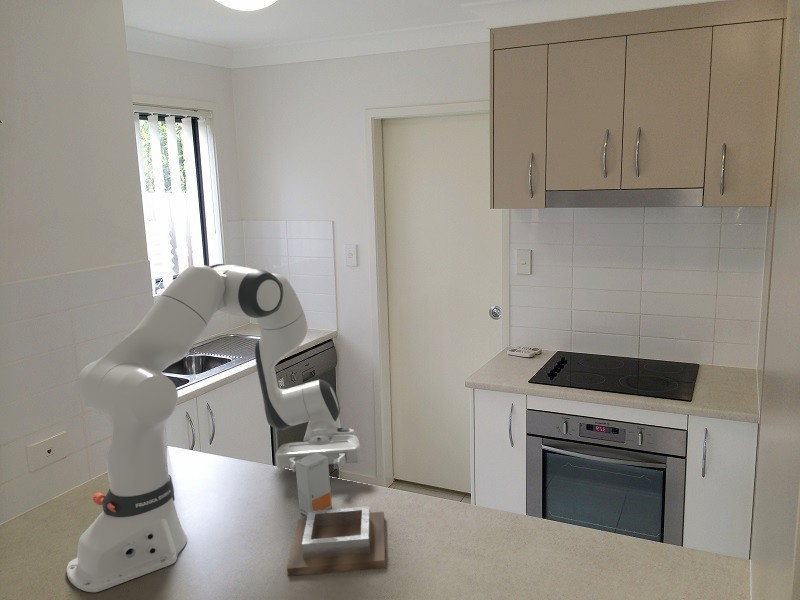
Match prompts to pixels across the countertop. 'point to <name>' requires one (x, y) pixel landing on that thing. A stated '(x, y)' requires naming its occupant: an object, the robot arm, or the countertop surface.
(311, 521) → the socket board
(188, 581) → the countertop surface
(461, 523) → the countertop surface
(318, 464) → the skincare box
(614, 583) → the countertop surface
